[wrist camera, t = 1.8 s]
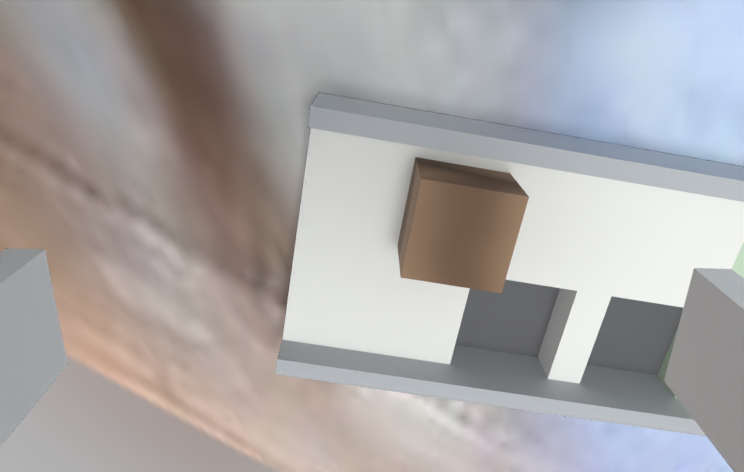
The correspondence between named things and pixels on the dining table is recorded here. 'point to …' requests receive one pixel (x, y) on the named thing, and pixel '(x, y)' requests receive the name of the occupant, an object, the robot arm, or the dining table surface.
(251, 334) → the dining table surface
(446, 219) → the walnut block
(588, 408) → the box
